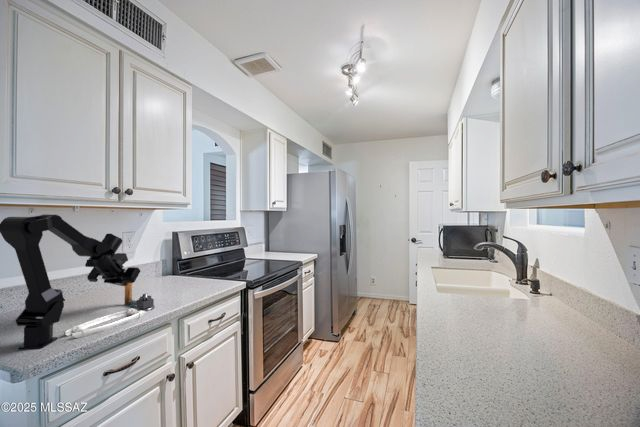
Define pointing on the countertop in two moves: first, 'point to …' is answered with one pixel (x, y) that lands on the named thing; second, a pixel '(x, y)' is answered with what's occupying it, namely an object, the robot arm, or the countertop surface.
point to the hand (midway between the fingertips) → (124, 285)
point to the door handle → (85, 331)
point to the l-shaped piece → (139, 303)
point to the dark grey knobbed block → (145, 308)
